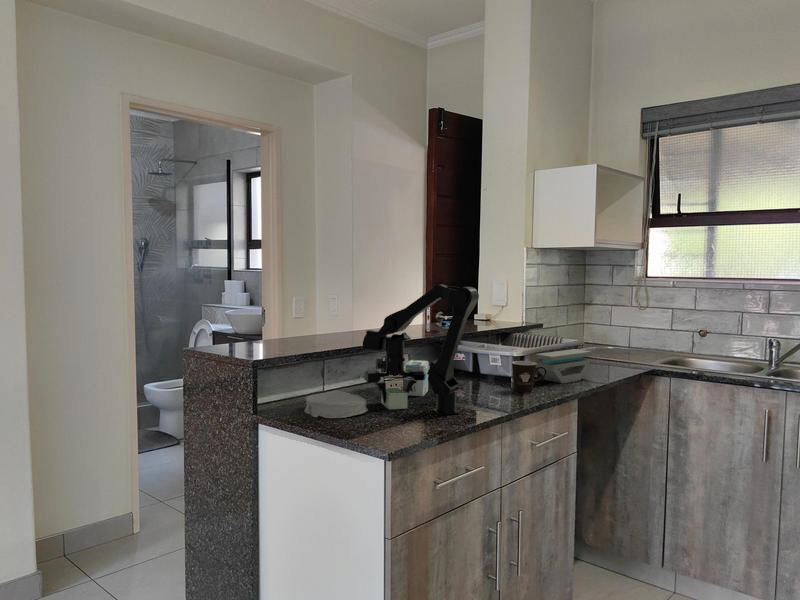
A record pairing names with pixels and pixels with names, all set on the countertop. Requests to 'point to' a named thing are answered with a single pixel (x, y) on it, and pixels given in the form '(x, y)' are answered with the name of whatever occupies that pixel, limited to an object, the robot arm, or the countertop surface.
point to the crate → (395, 398)
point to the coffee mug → (524, 375)
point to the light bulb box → (421, 385)
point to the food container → (335, 405)
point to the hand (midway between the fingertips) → (394, 402)
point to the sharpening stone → (564, 365)
